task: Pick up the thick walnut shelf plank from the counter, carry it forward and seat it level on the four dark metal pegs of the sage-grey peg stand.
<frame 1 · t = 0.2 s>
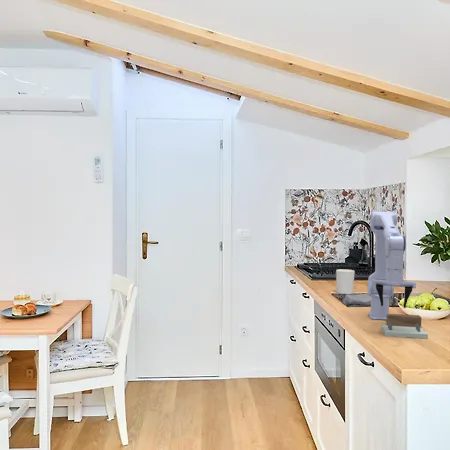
hand: (393, 306, 173), 10 cm above the worktop, fingers open, 7 cm apart
walnut plank: (403, 327, 184), on the worktop
candle holder: (344, 293, 258), on the worktop
stone block: (359, 304, 229), on the worktop
peg stand: (403, 333, 173), on the worktop
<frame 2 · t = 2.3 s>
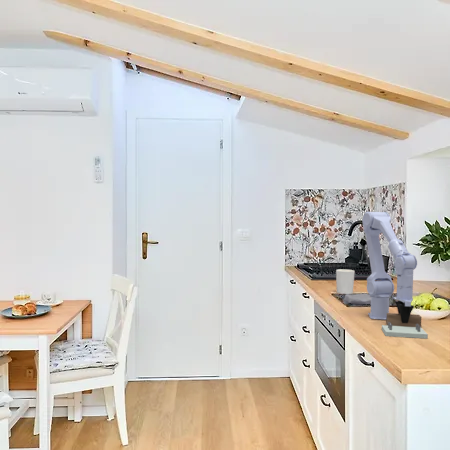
hand: (403, 321, 184), 2 cm above the worktop, fingers closed on walnut plank, 4 cm apart
walnut plank: (403, 326, 184), on the worktop, touching gripper
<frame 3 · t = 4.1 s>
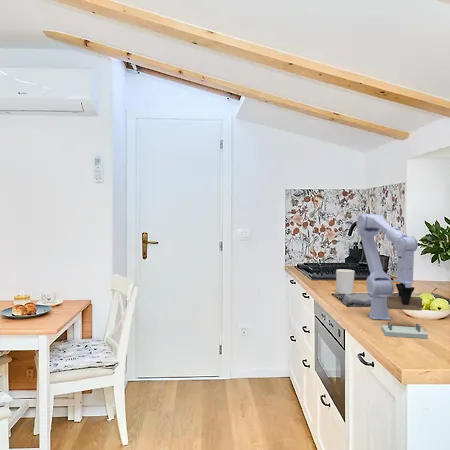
hand: (404, 303, 184), 9 cm above the worktop, fingers closed on walnut plank, 4 cm apart
walnut plank: (404, 308, 184), point 7 cm above the worktop, touching gripper
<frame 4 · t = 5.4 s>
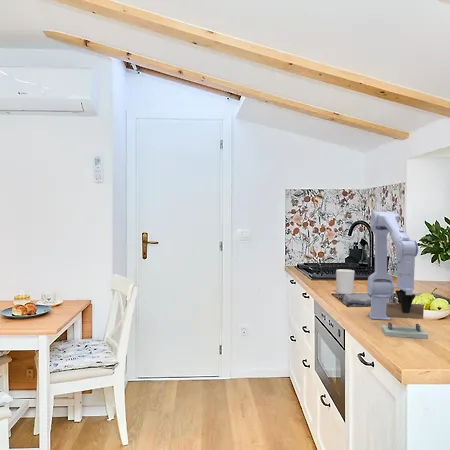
hand: (404, 311, 173), 8 cm above the worktop, fingers closed on walnut plank, 4 cm apart
walnut plank: (404, 316, 173), point 6 cm above the worktop, touching gripper
when the fingers open (6 cm above the worktop, at t = 6.1 s): walnut plank stays where it is, resting on peg stand.
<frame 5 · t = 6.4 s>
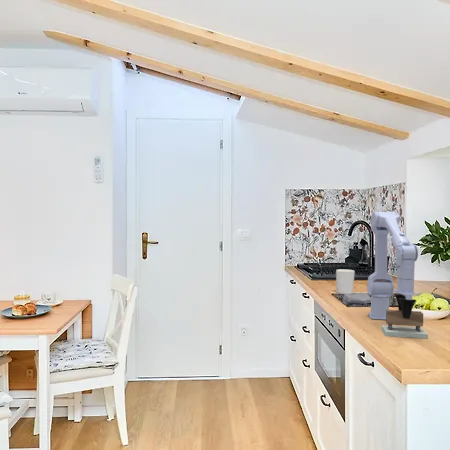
hand: (404, 316, 173), 6 cm above the worktop, fingers open, 6 cm apart
walnut plank: (404, 324, 173), point 3 cm above the worktop, touching peg stand
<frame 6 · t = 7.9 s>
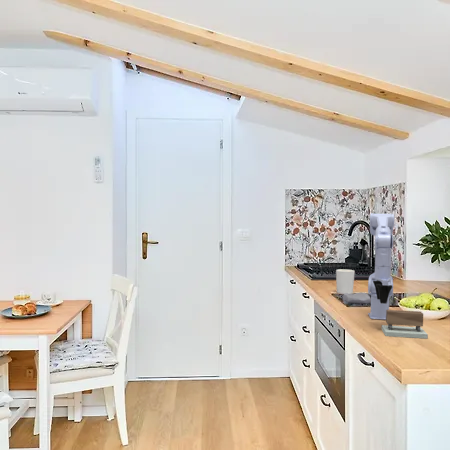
hand: (381, 301, 183), 10 cm above the worktop, fingers open, 7 cm apart
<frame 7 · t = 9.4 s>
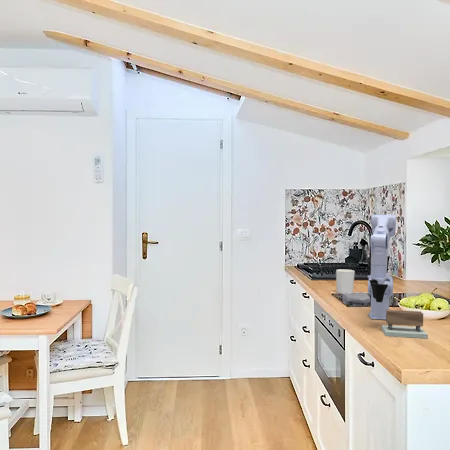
hand: (377, 300, 184), 10 cm above the worktop, fingers open, 7 cm apart
at the end: walnut plank 0.0 cm off-centre on the peg stand, point 3.5 cm above the peg stand's base; walnut plank tilted 0°; the gripper is holding nothing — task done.
